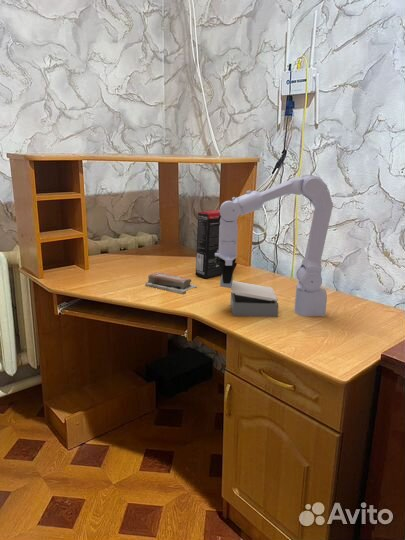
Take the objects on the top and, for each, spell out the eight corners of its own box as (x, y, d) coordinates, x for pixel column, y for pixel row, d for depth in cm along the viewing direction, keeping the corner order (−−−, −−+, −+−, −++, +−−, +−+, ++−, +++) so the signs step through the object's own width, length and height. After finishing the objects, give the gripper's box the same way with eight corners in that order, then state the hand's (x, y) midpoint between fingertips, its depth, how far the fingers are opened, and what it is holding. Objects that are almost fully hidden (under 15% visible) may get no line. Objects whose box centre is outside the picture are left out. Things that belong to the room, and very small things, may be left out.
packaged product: (144, 275, 161) (159, 269, 169) (144, 287, 162) (159, 280, 170) (183, 283, 152) (197, 276, 160) (183, 295, 153) (197, 288, 161)
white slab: (270, 291, 141) (273, 279, 140) (276, 303, 130) (280, 290, 129) (218, 282, 140) (221, 269, 139) (220, 293, 129) (223, 279, 128)
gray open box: (271, 306, 142) (272, 292, 141) (277, 319, 132) (278, 304, 131) (230, 305, 142) (230, 291, 141) (232, 318, 132) (233, 303, 130)
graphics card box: (222, 269, 188) (224, 208, 180) (234, 272, 183) (237, 209, 176) (195, 276, 176) (196, 211, 169) (206, 279, 171) (208, 213, 164)
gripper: (214, 235, 138) (213, 275, 141) (216, 244, 124) (214, 288, 127) (236, 235, 138) (234, 275, 141) (239, 245, 124) (237, 288, 127)
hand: (226, 281), depth 134 cm, fingers closed on white slab, 2 cm apart
